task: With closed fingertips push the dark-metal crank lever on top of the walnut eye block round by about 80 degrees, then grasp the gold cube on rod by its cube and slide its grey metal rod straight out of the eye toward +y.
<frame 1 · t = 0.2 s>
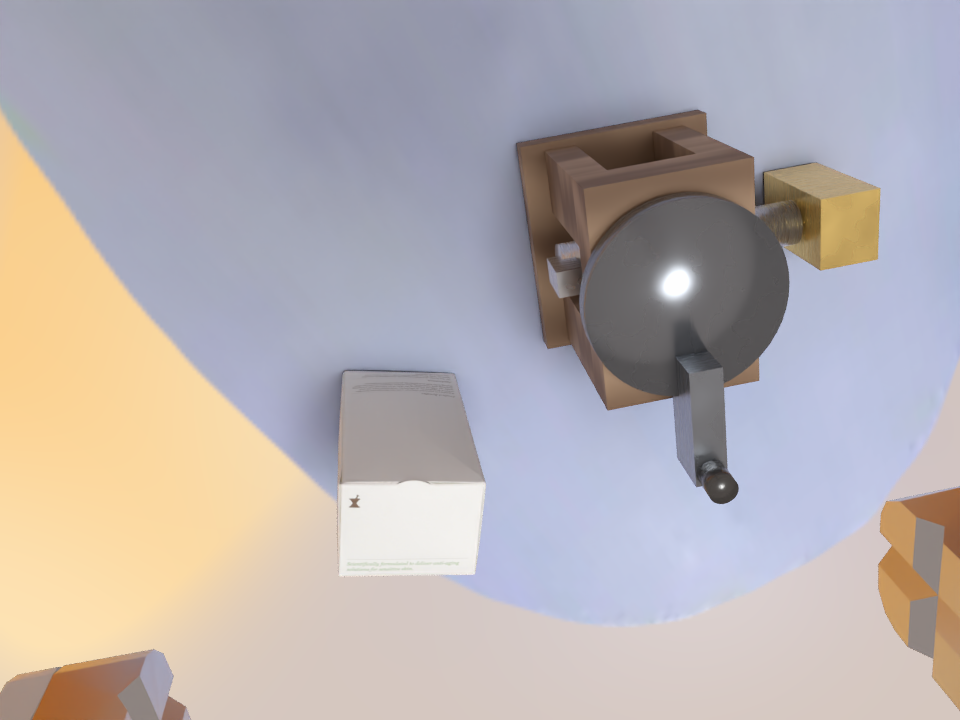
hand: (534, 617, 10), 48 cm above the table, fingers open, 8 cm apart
skincare box: (399, 405, 62), on the table
handwheel: (698, 350, 45), point 16 cm above the table, hinge at 0.0°
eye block: (617, 230, 58), on the table
gold cube on rod: (696, 236, 54), point 4 cm above the table, slide at 0.0 cm
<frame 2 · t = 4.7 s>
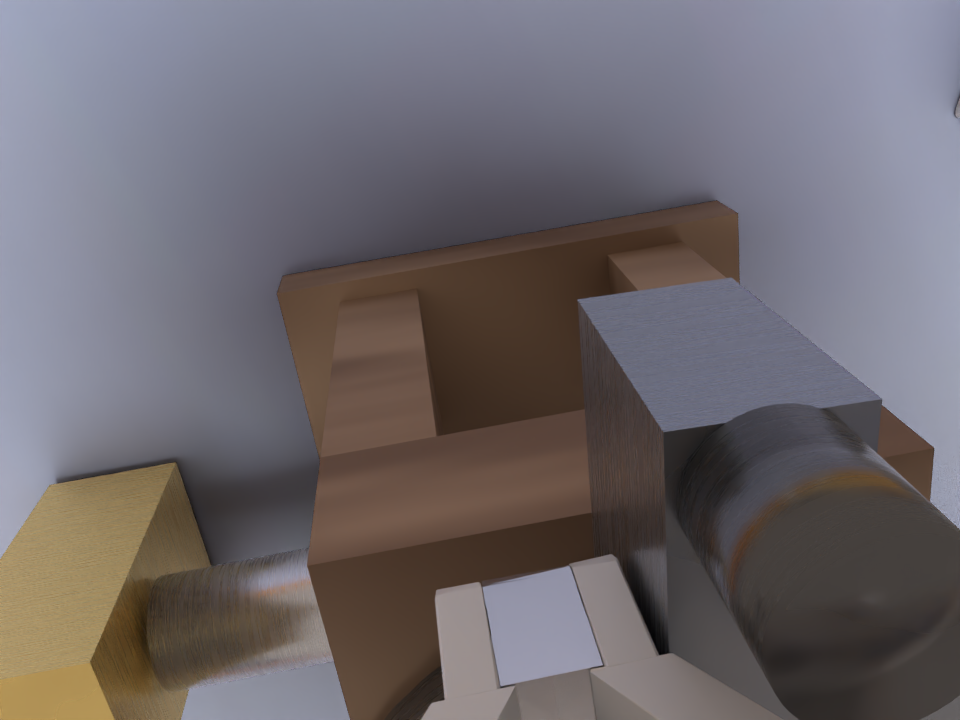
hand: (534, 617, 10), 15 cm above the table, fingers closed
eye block: (532, 458, 26), on the table
gold cube on rod: (408, 569, 22), point 4 cm above the table, slide at 0.0 cm
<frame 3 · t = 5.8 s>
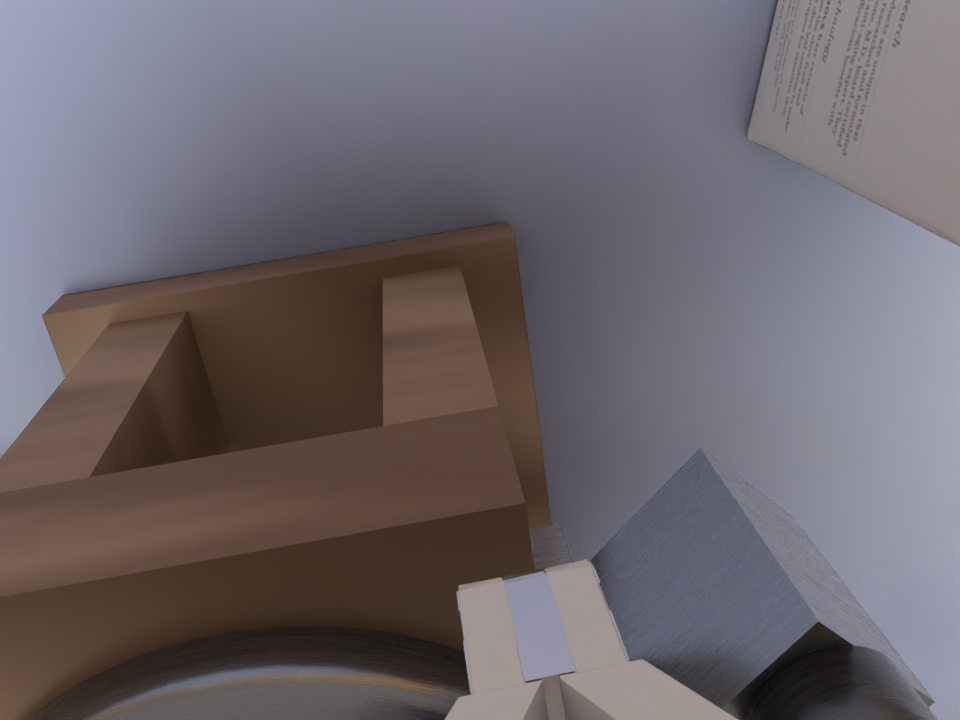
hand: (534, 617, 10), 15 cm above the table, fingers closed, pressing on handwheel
skincare box: (901, 41, 22), on the table
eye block: (340, 478, 26), on the table
gold cube on rod: (177, 594, 22), point 4 cm above the table, slide at 0.0 cm
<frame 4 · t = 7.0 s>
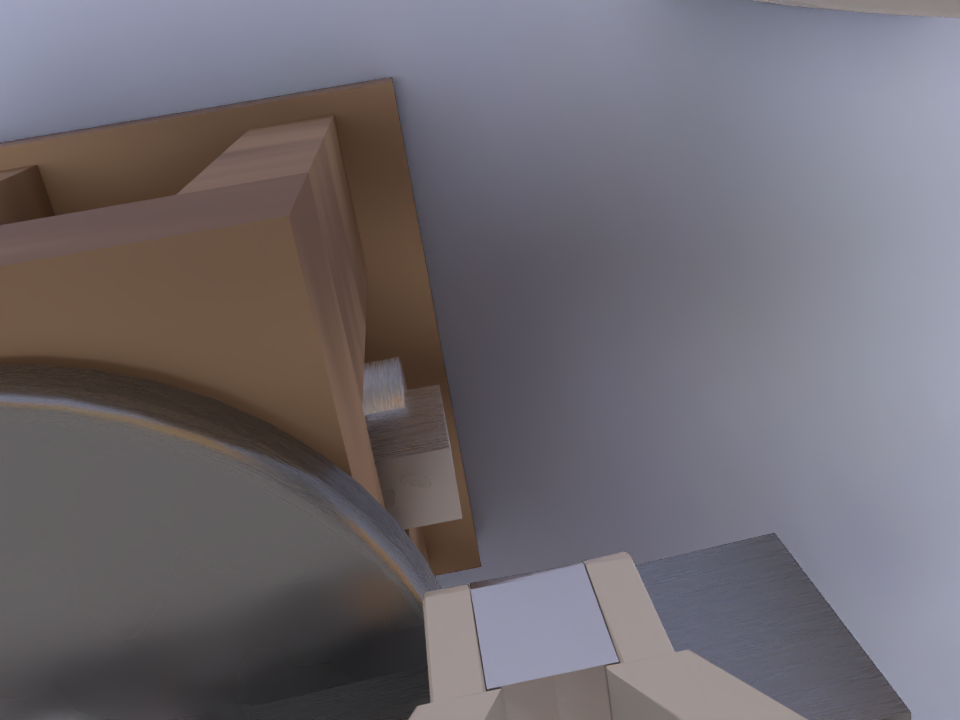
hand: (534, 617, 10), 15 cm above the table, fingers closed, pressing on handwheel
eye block: (228, 371, 24), on the table
gold cube on rod: (26, 474, 20), point 4 cm above the table, slide at 0.0 cm
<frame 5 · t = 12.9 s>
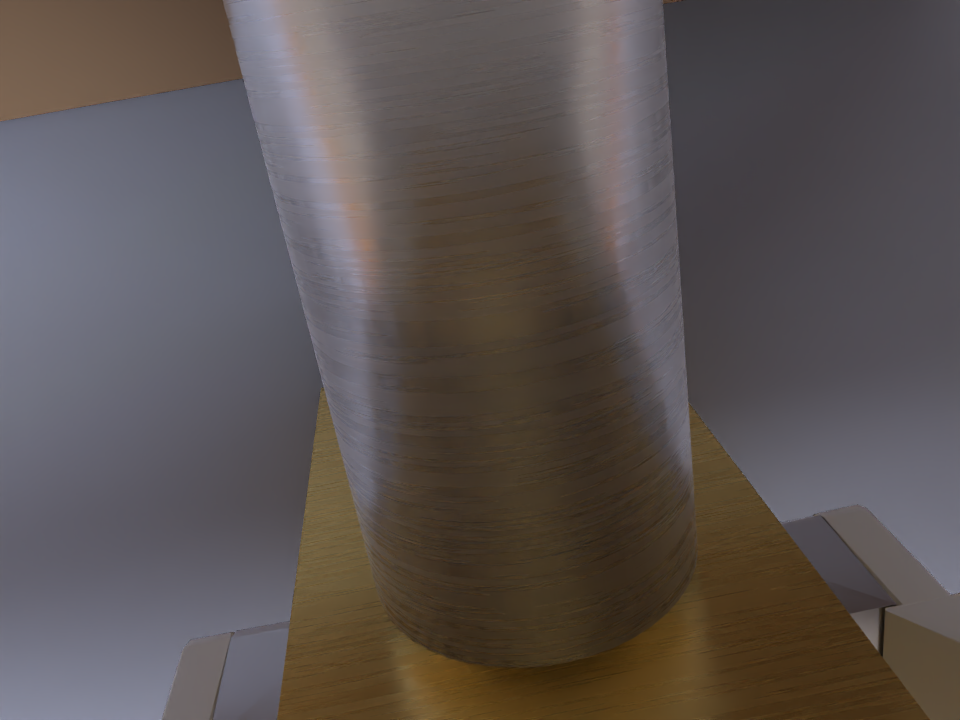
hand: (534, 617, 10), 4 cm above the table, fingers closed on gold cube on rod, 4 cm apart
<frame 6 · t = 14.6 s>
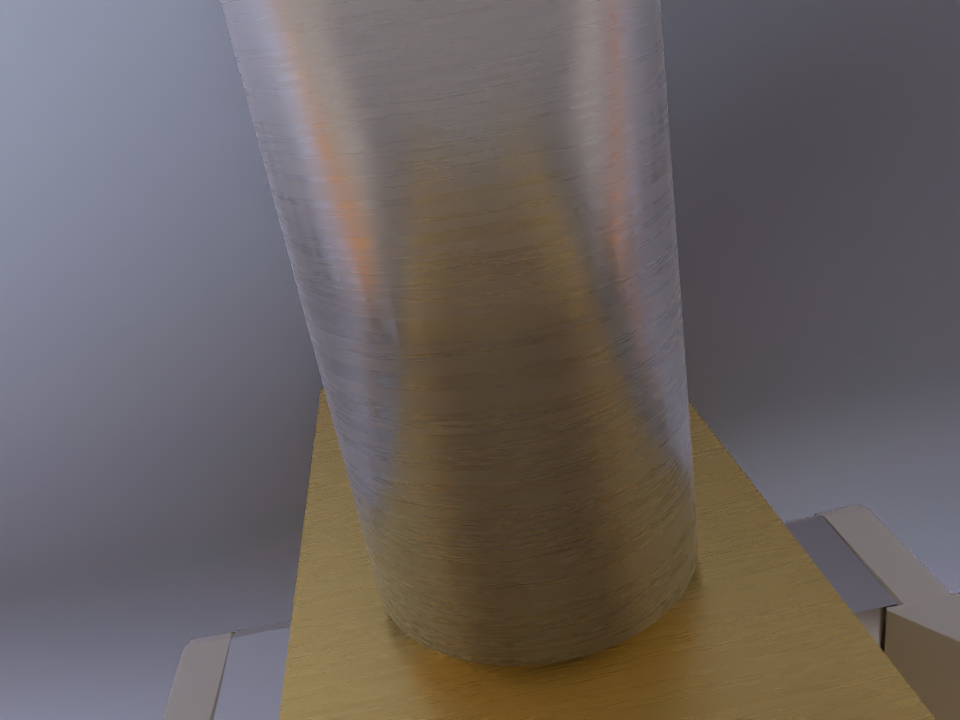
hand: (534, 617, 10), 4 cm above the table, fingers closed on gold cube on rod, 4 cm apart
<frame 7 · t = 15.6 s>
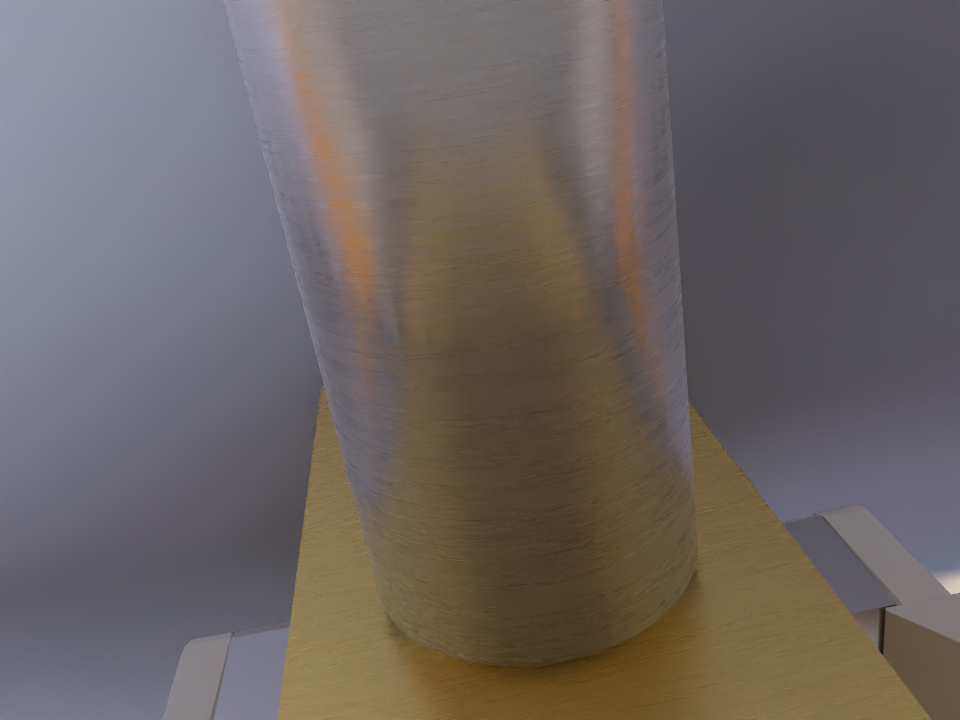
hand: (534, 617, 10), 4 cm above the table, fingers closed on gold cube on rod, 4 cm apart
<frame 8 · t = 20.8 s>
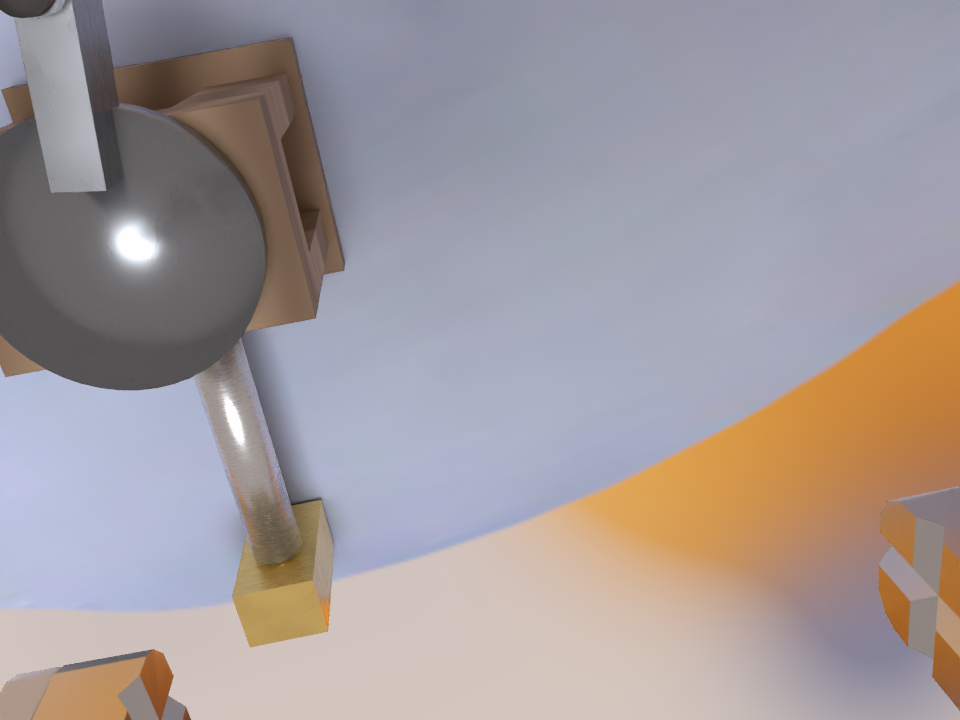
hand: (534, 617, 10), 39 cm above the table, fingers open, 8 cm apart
handwheel: (91, 205, 30), point 16 cm above the table, hinge at 98.7°
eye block: (189, 179, 45), on the table
gold cube on rod: (251, 453, 47), point 4 cm above the table, slide at 10.5 cm
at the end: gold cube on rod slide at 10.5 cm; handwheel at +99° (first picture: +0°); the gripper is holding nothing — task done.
